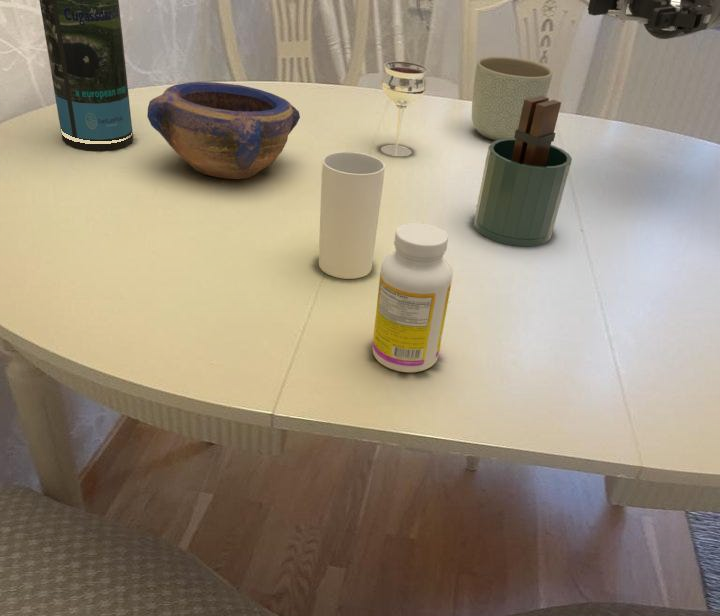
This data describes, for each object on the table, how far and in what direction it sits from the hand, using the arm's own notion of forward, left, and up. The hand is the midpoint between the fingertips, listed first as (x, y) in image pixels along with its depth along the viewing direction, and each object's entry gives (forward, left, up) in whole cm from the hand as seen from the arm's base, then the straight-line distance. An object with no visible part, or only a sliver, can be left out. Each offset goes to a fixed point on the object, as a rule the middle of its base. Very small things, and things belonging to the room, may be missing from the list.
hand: (622, 12), depth 92 cm
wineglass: (+24, -18, -25) cm, 39 cm away
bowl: (+49, -5, -25) cm, 55 cm away
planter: (+5, -30, -25) cm, 39 cm away
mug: (+32, +22, -25) cm, 46 cm away
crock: (+10, +9, -24) cm, 28 cm away
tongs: (+10, +9, -23) cm, 27 cm away
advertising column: (+69, -12, -25) cm, 74 cm away
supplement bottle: (+27, +42, -25) cm, 55 cm away
